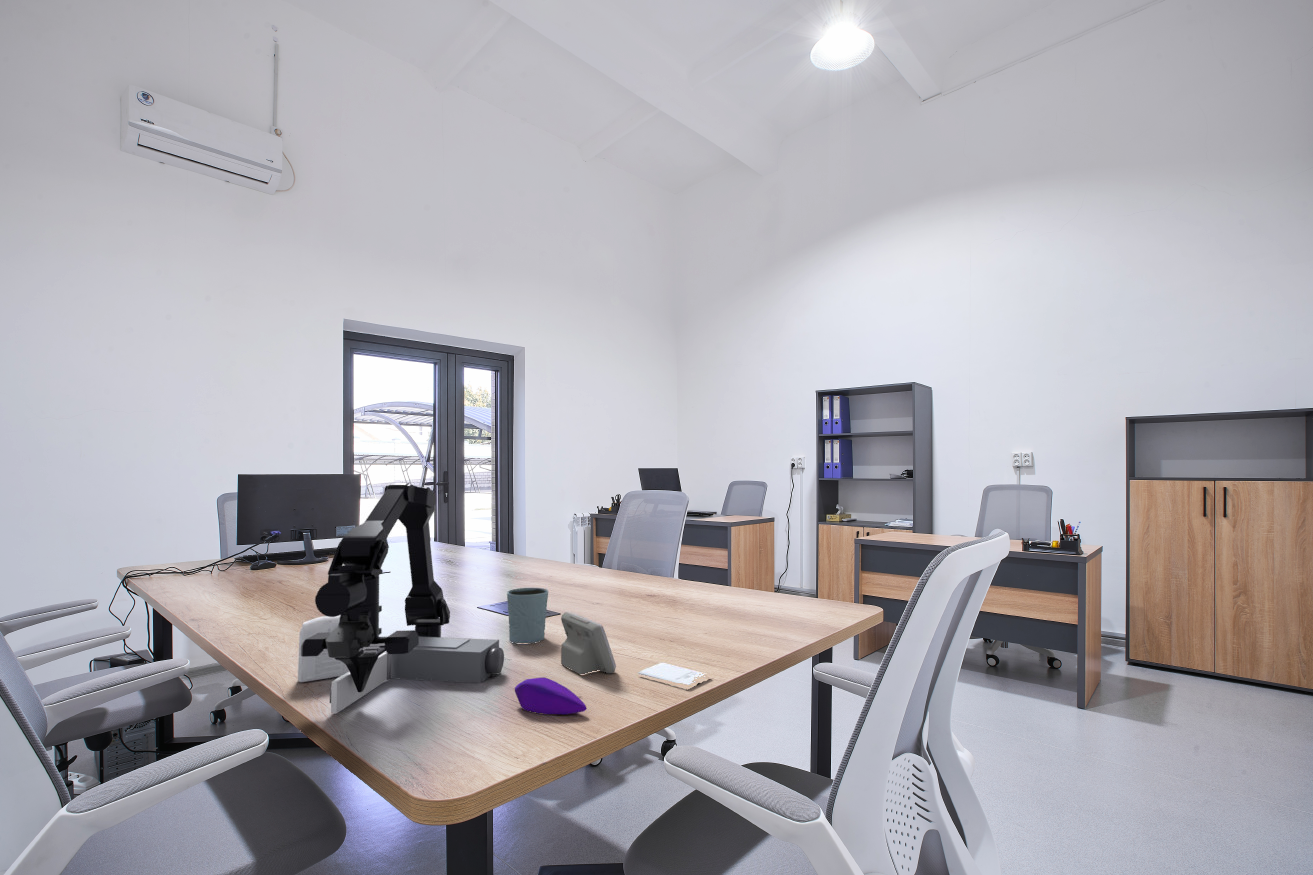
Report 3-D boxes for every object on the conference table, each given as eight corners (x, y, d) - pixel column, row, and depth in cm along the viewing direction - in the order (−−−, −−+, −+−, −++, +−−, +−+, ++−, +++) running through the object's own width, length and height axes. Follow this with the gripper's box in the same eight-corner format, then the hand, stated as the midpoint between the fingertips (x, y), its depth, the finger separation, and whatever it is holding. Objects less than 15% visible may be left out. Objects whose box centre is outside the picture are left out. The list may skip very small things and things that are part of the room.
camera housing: (412, 663, 131) (412, 634, 131) (507, 668, 128) (508, 638, 128) (387, 677, 122) (388, 646, 123) (489, 683, 119) (490, 651, 119)
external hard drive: (663, 669, 129) (711, 681, 121) (638, 679, 123) (687, 693, 115) (662, 661, 129) (711, 673, 121) (638, 671, 123) (687, 684, 115)
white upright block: (353, 669, 128) (354, 610, 129) (355, 674, 124) (357, 614, 125) (297, 678, 122) (298, 617, 123) (298, 684, 119) (299, 621, 119)
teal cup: (499, 644, 146) (500, 594, 147) (516, 632, 156) (516, 586, 157) (539, 645, 144) (539, 595, 145) (553, 634, 154) (553, 587, 155)
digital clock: (618, 675, 124) (618, 623, 124) (576, 682, 120) (576, 627, 120) (593, 653, 138) (593, 606, 139) (555, 659, 134) (555, 610, 135)
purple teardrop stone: (580, 699, 101) (507, 678, 107) (578, 728, 101) (505, 705, 107) (594, 689, 105) (523, 670, 111) (592, 717, 105) (521, 696, 111)
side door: (391, 678, 121) (392, 651, 121) (339, 713, 104) (339, 681, 104) (381, 678, 121) (382, 651, 122) (327, 713, 104) (328, 681, 104)
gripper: (283, 615, 100) (281, 710, 99) (395, 612, 101) (395, 707, 100) (318, 601, 111) (317, 686, 111) (419, 598, 112) (419, 684, 111)
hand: (360, 691), depth 108 cm, fingers closed
